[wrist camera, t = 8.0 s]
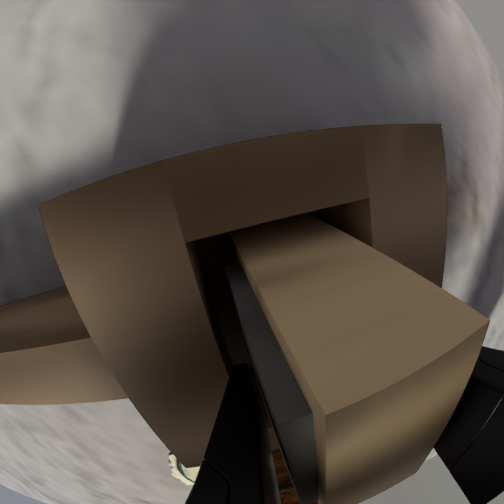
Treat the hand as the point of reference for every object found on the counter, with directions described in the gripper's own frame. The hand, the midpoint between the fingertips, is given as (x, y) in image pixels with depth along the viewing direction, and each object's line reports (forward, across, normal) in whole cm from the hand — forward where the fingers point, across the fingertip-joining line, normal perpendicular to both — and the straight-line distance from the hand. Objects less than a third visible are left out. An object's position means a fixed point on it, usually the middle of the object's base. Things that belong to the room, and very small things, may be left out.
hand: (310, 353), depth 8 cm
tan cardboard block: (+4, 0, 0) cm, 4 cm away
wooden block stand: (+7, +11, 0) cm, 13 cm away
